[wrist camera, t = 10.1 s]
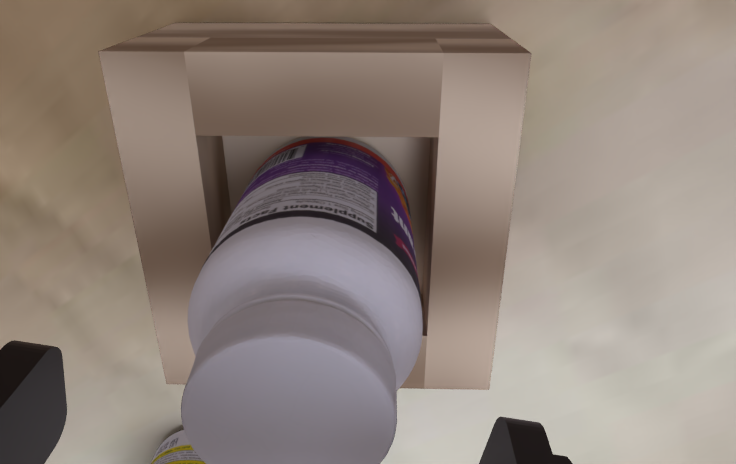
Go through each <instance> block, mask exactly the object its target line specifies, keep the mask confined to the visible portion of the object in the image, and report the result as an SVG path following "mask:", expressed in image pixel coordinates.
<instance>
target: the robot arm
mask: <svg viewBox="0 0 736 464" xmlns="http://www.w3.org/2000/svg"><path fill="white" fill-rule="evenodd" d="M66 415H67V404H66V393H65V381H64V370H63V359H62V353H61V350H60V349H59V348H58V347H54V346H47V345H41V344H34V343H28V342H21V341H11V342H9V343H7V344H6V345H5V346H4V347H3V348H2V349H1V350H0V464H44V463H45V462H46V460H47V459H48V457H49V456H50V454H51V452H52V451H53V449H54V448H55V446H56V444H57V443H58V441H59V439H60V436H61V434H62V431H63V429H64V425H65V421H66ZM479 464H572V462H571V461H570V460H569V459H568V457H566V456H559V455H553V454H552V451H551V448H550V445H549V441H548V438H547V435H546V432H545V430H544V427H543V426H542V425H541V424H540V423H538V422H532V421H525V420H519V419H512V418H506V417H499V418H498V419H497V420H496V422H495V424H494V427H493V429H492V432H491V434H490V437H489V439H488V442H487V445H486V447H485V450H484V452H483V455H482V457H481V460H480V463H479Z"/></svg>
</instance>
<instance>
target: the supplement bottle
mask: <svg viewBox="0 0 736 464" xmlns="http://www.w3.org/2000/svg"><path fill="white" fill-rule="evenodd" d="M151 464H206V463H205V462H204V461H203V460H202V459H201V458H200V457H199V456H198V455H197V453H196V452H195V451H194V449H193V448H192V446H191V444H190V442H189V440H188V438H187V436H186V434H185V431H184V430H181V431H179V432H176V433H174V434H173V435H171V436H169V437H168V438H167V439H166V440H165V441H164V442H163V443H162V444H161V445H160V446H159V448H158V449H157V451H156V453H155V455H154V457H153V459H152V461H151Z"/></svg>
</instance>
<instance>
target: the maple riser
mask: <svg viewBox="0 0 736 464" xmlns="http://www.w3.org/2000/svg"><path fill="white" fill-rule="evenodd" d="M98 52H99V57H100V62H101V66H102V71H103V76H104V81H105V86H106V91H107V96H108V101H109V105H110V110H111V115H112V120H113V125H114V130H115V135H116V140H117V144H118V149H119V154H120V159H121V164H122V169H123V174H124V179H125V183H126V188H127V193H128V198H129V203H130V208H131V213H132V218H133V222H134V227H135V232H136V237H137V242H138V247H139V252H140V257H141V261H142V266H143V271H144V276H145V281H146V286H147V291H148V296H149V300H150V305H151V310H152V315H153V320H154V325H155V330H156V335H157V339H158V344H159V349H160V354H161V359H162V364H163V369H164V374H165V379H166V383H167V384H186V383H187V380H188V378H189V375H190V373H191V370H192V367H193V364H194V361H195V357H196V356H195V354H194V351H193V348H192V344H191V341H190V337H189V330H188V306H189V301H190V297H191V293H192V290H193V287H194V284H195V282H196V280H197V278H198V276H199V273H200V271H201V269H202V266H203V264H204V263H205V261H206V259H207V257H208V256H209V254H210V252H211V251H212V249H213V247H214V245H215V243H216V242H217V240H218V238H219V236H220V234H221V233H222V231H223V229H224V227H225V225H226V224H227V222H228V220H229V218H230V216H231V215H232V213H233V211H234V209H235V207H236V205H237V204H238V202H239V200H240V199H241V196H242V195H243V193H244V191H245V189H246V187H247V186H248V184H249V182H250V181H251V179H252V177H253V175H254V174H255V172H256V171H257V169H258V168H259V167H260V166H261V164H262V163H263V162H264V161H265V159H266V158H267V157H268V156H269V155H271V154H272V153H273V152H274V151H275V150H277V149H278V148H280V147H281V146H283V145H285V144H287V143H289V142H291V141H293V140H296V139H299V138H302V137H306V136H319V137H349V138H352V139H355V140H358V141H360V142H363V143H365V144H367V145H369V146H370V147H372V148H373V149H375V150H376V151H378V152H379V153H380V154H381V155H383V156H384V157H385V158H386V159H387V160H388V161H389V163H390V164H391V165H392V166H393V167H394V169H395V170H396V172H397V173H398V175H399V176H400V178H401V180H402V183H403V185H404V187H405V190H406V194H407V198H408V202H409V206H410V215H411V224H412V231H413V240H414V247H415V254H416V263H417V272H418V280H419V286H420V295H421V304H422V318H423V332H422V343H421V347H420V352H419V354H418V357H417V360H416V363H415V365H414V367H413V369H412V371H411V373H410V374H409V376H408V378H407V379H406V380H405V382H404V383H403V384H402V385H401V387H400V388H421V389H479V390H489V387H490V379H491V371H492V363H493V355H494V347H495V339H496V331H497V323H498V316H499V308H500V300H501V292H502V284H503V276H504V268H505V260H506V252H507V244H508V236H509V228H510V220H511V212H512V204H513V196H514V188H515V180H516V172H517V164H518V157H519V149H520V141H521V133H522V125H523V117H524V109H525V101H526V93H527V85H528V77H529V69H530V61H531V53H530V52H529V51H527V50H526V49H525V48H523V47H522V46H521V45H519V44H518V43H516V42H515V41H514V40H512V39H511V38H510V37H508V36H507V35H505V34H504V33H503V32H501V31H500V30H499V29H497V28H496V27H494V26H493V25H492V24H346V23H173V24H171V25H168V26H165V27H163V28H160V29H157V30H155V31H152V32H149V33H146V34H144V35H141V36H138V37H136V38H133V39H130V40H128V41H125V42H122V43H120V44H117V45H114V46H111V47H109V48H106V49H103V50H101V51H98Z"/></svg>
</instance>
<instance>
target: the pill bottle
mask: <svg viewBox="0 0 736 464" xmlns="http://www.w3.org/2000/svg"><path fill="white" fill-rule="evenodd" d="M188 330H189V337H190V341H191V344H192V348H193V351H194V354H195V356H196V357H195V361H194V364H193V367H192V370H191V373H190V375H189V378H188V380H187V383H186V386H185V389H184V393H183V397H182V404H181V418H182V424H183V427H184V431H185V434H186V436H187V438H188V440H189V442H190V444H191V446H192V448H193V449H194V451H195V452H196V453H197V455H198V456H199V457H200V458H201V459H202V460H203V461H204V462H205V463H206V464H380V463H381V462H382V460H383V459H384V458H385V456H386V455H387V453H388V451H389V449H390V447H391V445H392V442H393V440H394V436H395V431H396V424H397V395H396V391H397V390H398V389H399V388H400V387H401V385H402V384H403V383H404V382H405V380H406V379H407V378H408V376H409V374H410V373H411V371H412V369H413V367H414V365H415V363H416V360H417V357H418V354H419V352H420V347H421V343H422V332H423V318H422V304H421V295H420V286H419V280H418V272H417V263H416V254H415V247H414V240H413V231H412V224H411V215H410V206H409V202H408V198H407V194H406V190H405V187H404V185H403V183H402V180H401V178H400V176H399V175H398V173H397V172H396V170H395V169H394V167H393V166H392V165H391V164H390V163H389V161H388V160H387V159H386V158H385V157H384V156H383V155H381V154H380V153H379V152H378V151H376V150H375V149H373V148H372V147H370V146H369V145H367V144H365V143H363V142H360V141H358V140H355V139H352V138H349V137H319V136H306V137H302V138H299V139H296V140H293V141H291V142H289V143H287V144H285V145H283V146H281V147H280V148H278V149H277V150H275V151H274V152H273V153H272V154H271V155H269V156H268V157H267V158H266V159H265V161H264V162H263V163H262V164H261V166H260V167H259V168H258V169H257V171H256V172H255V174H254V175H253V177H252V179H251V181H250V182H249V184H248V186H247V187H246V189H245V191H244V193H243V195H242V196H241V199H240V200H239V202H238V204H237V205H236V207H235V209H234V211H233V213H232V215H231V216H230V218H229V220H228V222H227V224H226V225H225V227H224V229H223V231H222V233H221V234H220V236H219V238H218V240H217V242H216V243H215V245H214V247H213V249H212V251H211V252H210V254H209V256H208V257H207V259H206V261H205V263H204V264H203V266H202V269H201V271H200V273H199V276H198V278H197V280H196V282H195V284H194V287H193V290H192V293H191V297H190V301H189V306H188Z"/></svg>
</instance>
